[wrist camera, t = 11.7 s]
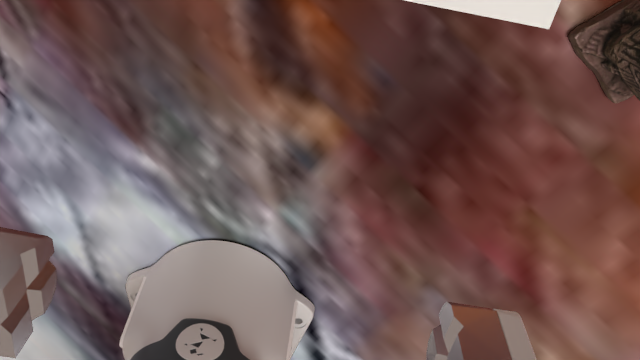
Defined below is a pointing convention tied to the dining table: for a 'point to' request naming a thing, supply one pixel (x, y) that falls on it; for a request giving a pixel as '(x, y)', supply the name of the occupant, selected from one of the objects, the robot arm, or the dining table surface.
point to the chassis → (504, 9)
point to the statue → (612, 49)
